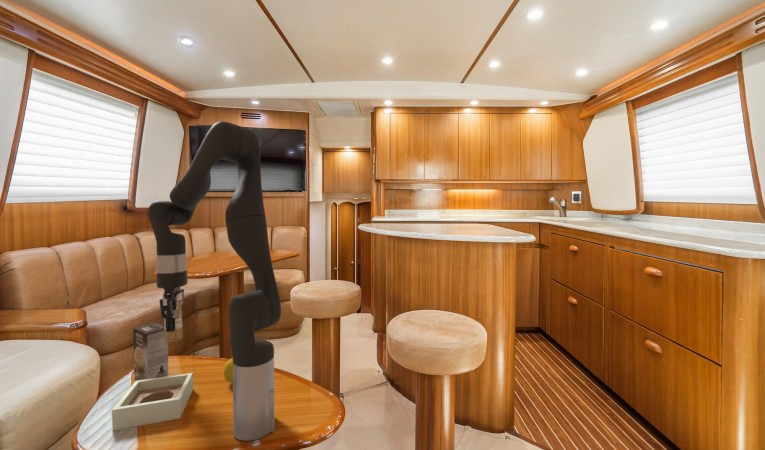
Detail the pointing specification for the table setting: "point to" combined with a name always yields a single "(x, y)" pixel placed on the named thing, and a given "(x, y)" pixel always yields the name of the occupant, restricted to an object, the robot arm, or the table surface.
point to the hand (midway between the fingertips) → (173, 328)
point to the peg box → (153, 401)
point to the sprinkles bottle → (177, 332)
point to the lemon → (229, 370)
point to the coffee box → (150, 352)
